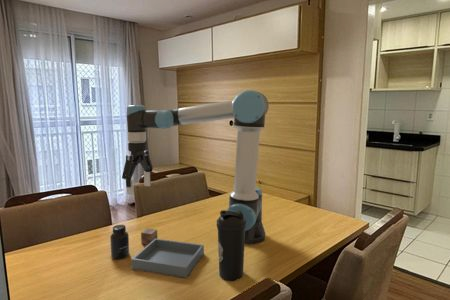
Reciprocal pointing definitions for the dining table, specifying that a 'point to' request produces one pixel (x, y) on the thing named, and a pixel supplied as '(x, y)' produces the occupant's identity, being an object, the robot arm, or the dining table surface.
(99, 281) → the dining table surface
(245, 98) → the robot arm
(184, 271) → the tray
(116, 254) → the supplement bottle
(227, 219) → the water bottle
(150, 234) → the walnut cube
